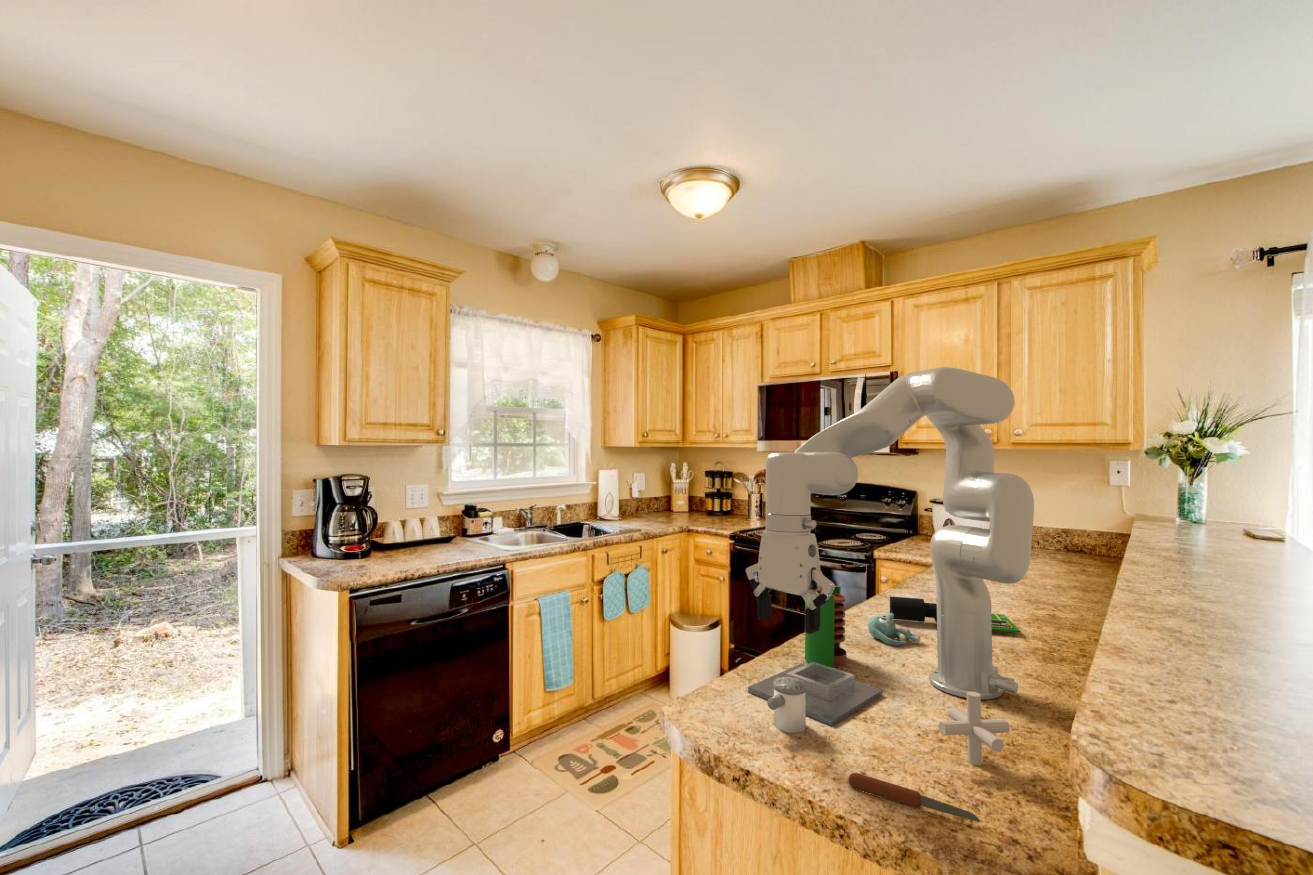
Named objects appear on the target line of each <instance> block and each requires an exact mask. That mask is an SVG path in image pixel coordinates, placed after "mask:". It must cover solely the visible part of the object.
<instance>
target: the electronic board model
mask: <svg viewBox="0 0 1313 875" xmlns="http://www.w3.org/2000/svg"><path fill="white" fill-rule="evenodd" d="M890 613H893V614H894V617H893V619H894V620H899V621H900V620H901V621H908V622H909V621H911V622H922V623H925V621H926V618H930V619H934V621H935V623H936V624H937V603H936V602H935V603H934V602H933V603H932V602H925V599H924V598H921V597H920V598H919V597H908V596H907V597H906V596H896V595H891V596H889V614H890ZM991 620H992V631H995V632H997V631H998V632H1006V633H1007V632H1008V633H1016V634H1017V633H1019V634H1020V633H1021V630H1020V629H1019V628H1018V627H1017V626H1016V625H1015V624H1014V623H1013V622H1012V621H1011V620H1010V619H1009V618H1008V617H1007V615H1005V614H1001V613H1000V614H999V613H991Z"/></svg>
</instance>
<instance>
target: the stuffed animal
mask: <svg viewBox="0 0 1313 875" xmlns="http://www.w3.org/2000/svg"><path fill="white" fill-rule="evenodd" d="M893 617H894V614H893V613H890V612H889V613H888V614H886V615H881V614H876V615H875V616H874V617H871V618H870V619H869V621H868V623H867V630H868V633H869V634H870V635H871V637H873V638H874V639H877V640H879V639H880V641H882V642H883V643H884V644H886V645H888V644H889V646H893V645H894V646H893V647H895V646H896V647H900V646H906V645H907V643H908V642H907V641H909V640H910V641H912V642H914V643H917V644H918V643H920V641H921V636H920V635H919V634H917V633H912V632H911V630H910V629H909V628H907V627H900V628H898V627H896V626H897V625H896V623H895V619H893ZM894 638H897V639H894ZM899 639H901V640H899Z"/></svg>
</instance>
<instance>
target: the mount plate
mask: <svg viewBox="0 0 1313 875" xmlns="http://www.w3.org/2000/svg"><path fill="white" fill-rule="evenodd" d="M780 677H792V678H797V679H800V680H802V681H803V682H805V684H806V691H805V702H806V716H807V717H809V718H812V719H813V720H816V721H819V722H820V723H824V724H825V725H829V726H832V727H834V725H837V724H838V723H840V722H841V721H843V720H845V719H846V718H848V717H849V716H851V715H853V714H854V713H856V712H857V711H859V710H861V709H862V708H864V707H866V706H867V705H870V704H871V703H873V702H874V701H875V700H878V699H879V698H881V697H882V696H883V689H881V688H879V687H874V686H872V685H868V684H865V683H861V682H858V681H856V680H855V674H853V673H851V672H847V671H844V670H841V669H837V668H835V667H834V668H831V667H828V666H825V665H822V664H819V663H815V662H811V663H807V664H804V663H799V664H797V665H795V666H794V665H793V666H792V667H790V668H788V669H786V670H783V671H781V672H779V673H777V674H774V675H772V676H770V677H767V678H766V679H762V680H760V681H758V682H756V683H753V684H752V685H749V686H747V692H748V693H749V694H752V695H754V696H757V697H760V698H761V699H764V700H767V701H768V699H769V698H771V697H773V696H774V688H773V681H774V680H775V679H777V678H780Z"/></svg>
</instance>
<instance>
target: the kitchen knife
mask: <svg viewBox="0 0 1313 875" xmlns="http://www.w3.org/2000/svg"><path fill="white" fill-rule="evenodd" d="M848 783H849V785H850V787H851V788H853V789H854V788H855V789H854V790H856V789H857V791H859V790H861V791H860V792H862V791H864V792H863V793H865V792H867V793H866V794H868V793H871V794H870V795H872V794H874V795H873V796H875V795H877V797H879V796H881V797H880V798H884V799H887V800H891V801H895V802H900V803H902V804H905V805H907V806H909V807H911V806H912V807H911V808H913V807H914V809H916V808H919V809H920V808H921V807H924V808H926V809H929V810H933V811H935V812H936V811H937V812H941V813H944V814H947V815H952V816H954V817H959V818H961V819H966V820H969V821H974V822H978V823H980V822H981V820H980V818H978V816H977V815H975V814H974V813H972V811H969V810H965V809H963V808H960V807H958V806H954V805H952V804H949V803H946V802H944V801H941V800H937V799H934V798H931V797H928V796H925V795H922V794H920V792H919V791H916V790H913V789H912V788H911V789H910V788H908V787H905V786H900V785H897V784H894V783H890V782H887V781H885V780H881V779H877V778H875V777H871V776H868V775H864V774H862V773H858V772H851V774H850V775H849V776H848Z"/></svg>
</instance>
